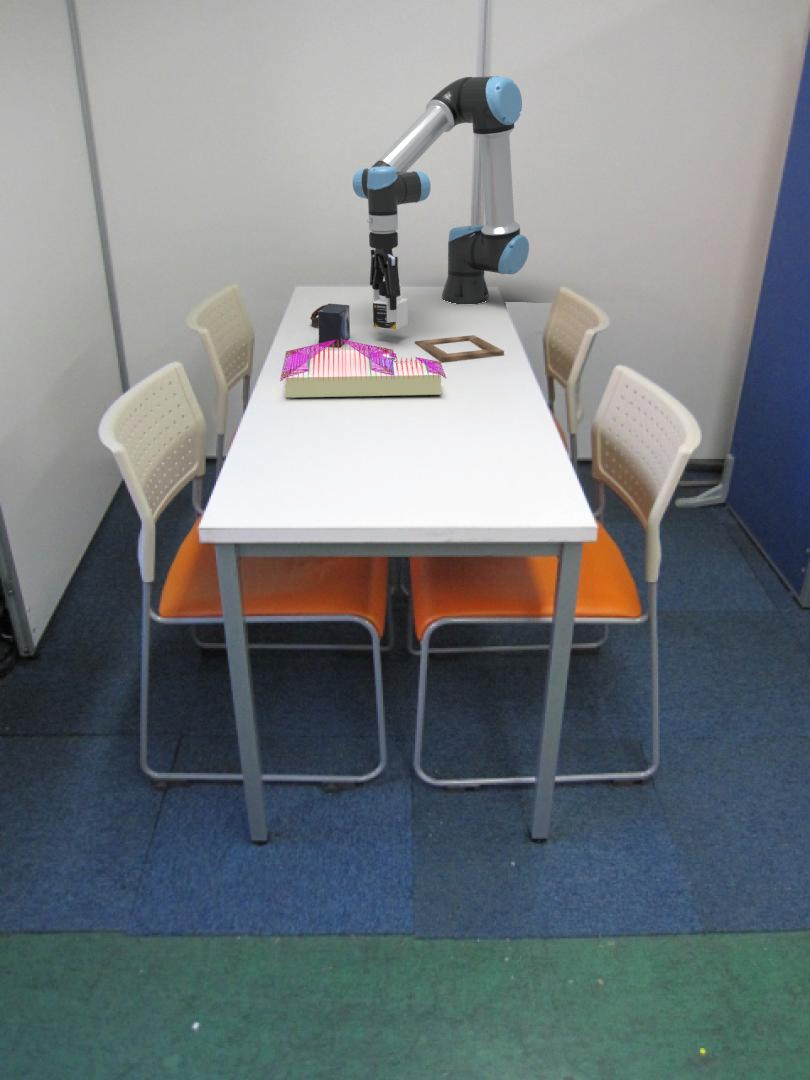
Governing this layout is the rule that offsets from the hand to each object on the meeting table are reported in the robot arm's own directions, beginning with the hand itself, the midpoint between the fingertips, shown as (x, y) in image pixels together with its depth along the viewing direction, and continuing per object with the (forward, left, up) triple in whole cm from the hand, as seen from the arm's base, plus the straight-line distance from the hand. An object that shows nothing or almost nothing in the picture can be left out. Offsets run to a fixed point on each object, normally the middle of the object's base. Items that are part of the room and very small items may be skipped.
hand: (385, 317), depth 238 cm
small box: (+13, -4, -8) cm, 16 cm away
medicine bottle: (-2, 0, -3) cm, 3 cm away
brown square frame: (-16, +14, -7) cm, 22 cm away
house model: (+17, +29, -8) cm, 35 cm away
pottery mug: (+8, -22, -8) cm, 25 cm away
